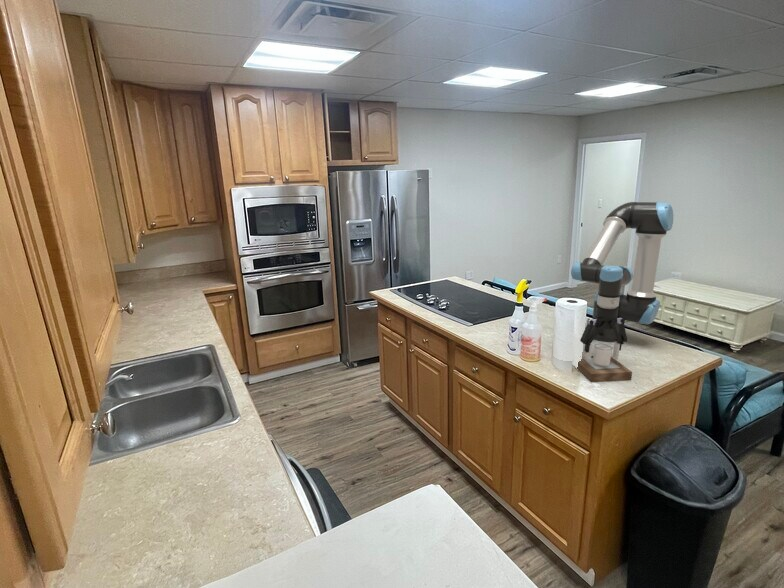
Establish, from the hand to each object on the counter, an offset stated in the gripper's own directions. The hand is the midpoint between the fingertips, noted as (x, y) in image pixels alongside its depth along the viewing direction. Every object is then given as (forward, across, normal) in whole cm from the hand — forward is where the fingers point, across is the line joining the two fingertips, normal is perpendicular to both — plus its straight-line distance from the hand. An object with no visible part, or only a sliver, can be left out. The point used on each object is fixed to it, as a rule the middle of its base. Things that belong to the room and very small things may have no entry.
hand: (601, 358), depth 168 cm
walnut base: (+6, 0, 0) cm, 6 cm away
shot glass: (+2, 0, 0) cm, 2 cm away
